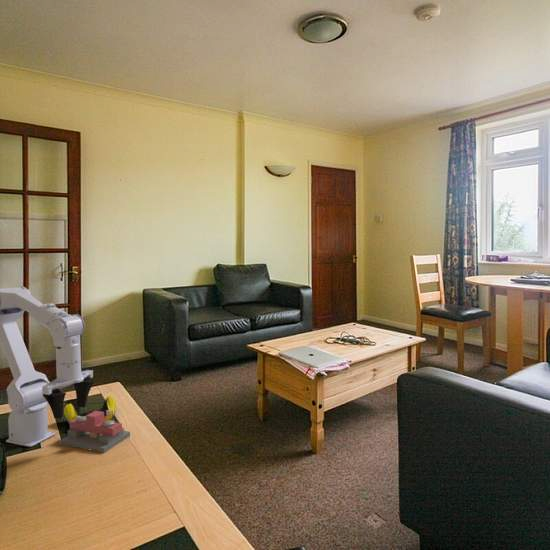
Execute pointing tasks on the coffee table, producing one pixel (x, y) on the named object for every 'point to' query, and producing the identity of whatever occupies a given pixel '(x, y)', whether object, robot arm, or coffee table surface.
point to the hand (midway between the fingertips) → (70, 412)
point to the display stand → (93, 440)
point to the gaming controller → (107, 408)
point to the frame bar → (96, 424)
